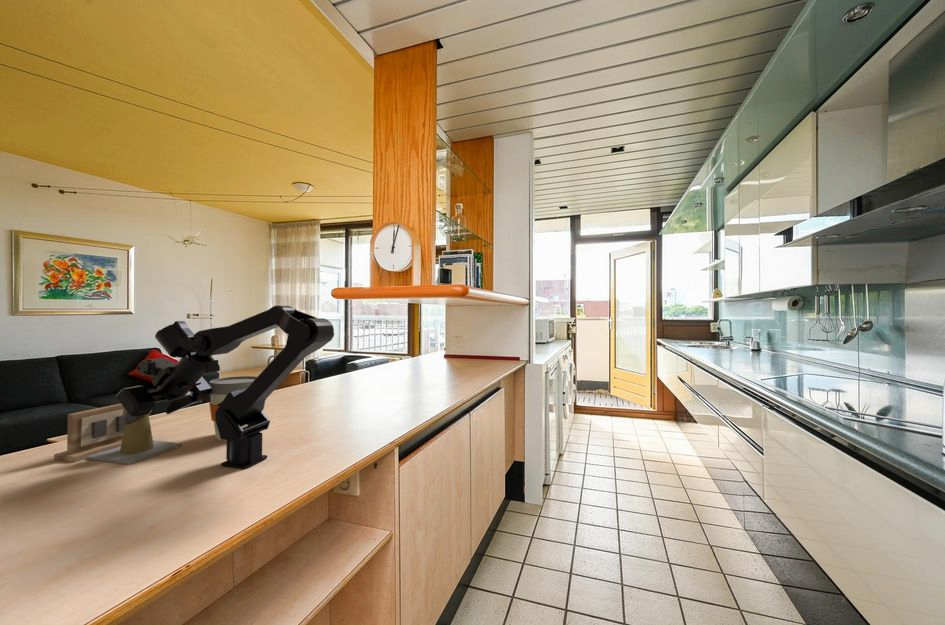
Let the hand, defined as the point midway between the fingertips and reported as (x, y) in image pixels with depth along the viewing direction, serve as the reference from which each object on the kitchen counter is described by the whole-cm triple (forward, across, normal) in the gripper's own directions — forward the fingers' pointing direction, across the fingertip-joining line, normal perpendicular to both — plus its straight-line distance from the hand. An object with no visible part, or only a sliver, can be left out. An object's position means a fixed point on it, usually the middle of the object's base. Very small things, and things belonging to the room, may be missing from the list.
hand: (147, 417), depth 89 cm
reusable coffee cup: (-1, -16, +13) cm, 20 cm away
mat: (+8, 0, +4) cm, 9 cm away
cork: (+8, 0, +4) cm, 8 cm away
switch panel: (+15, 0, -3) cm, 15 cm away
